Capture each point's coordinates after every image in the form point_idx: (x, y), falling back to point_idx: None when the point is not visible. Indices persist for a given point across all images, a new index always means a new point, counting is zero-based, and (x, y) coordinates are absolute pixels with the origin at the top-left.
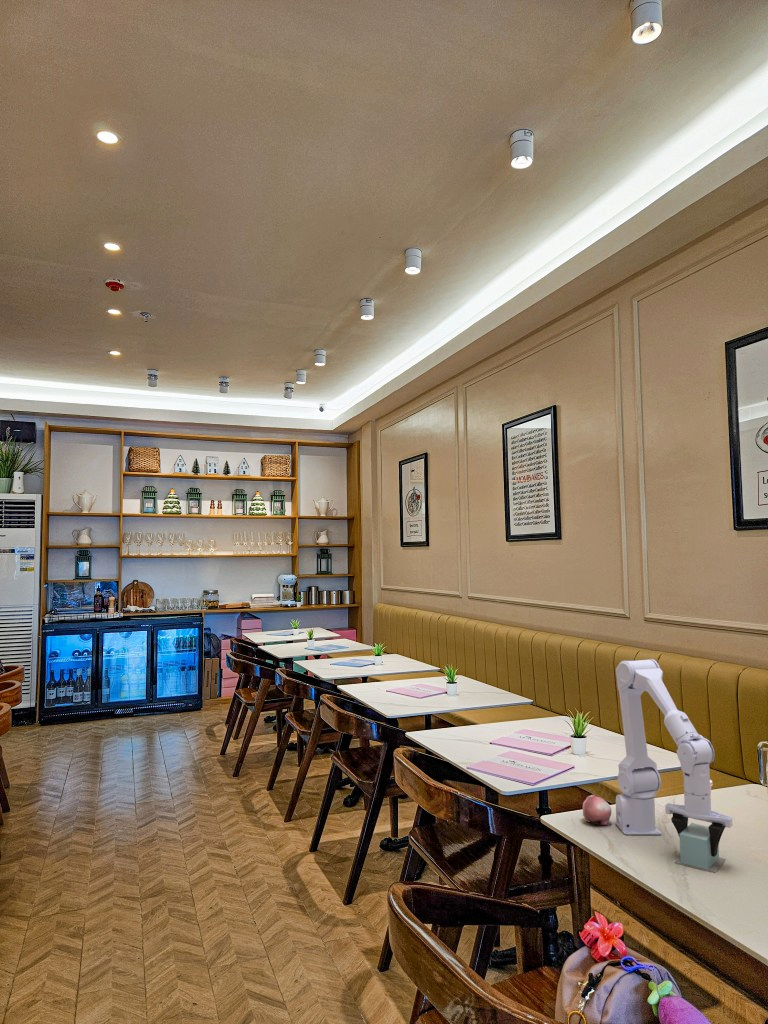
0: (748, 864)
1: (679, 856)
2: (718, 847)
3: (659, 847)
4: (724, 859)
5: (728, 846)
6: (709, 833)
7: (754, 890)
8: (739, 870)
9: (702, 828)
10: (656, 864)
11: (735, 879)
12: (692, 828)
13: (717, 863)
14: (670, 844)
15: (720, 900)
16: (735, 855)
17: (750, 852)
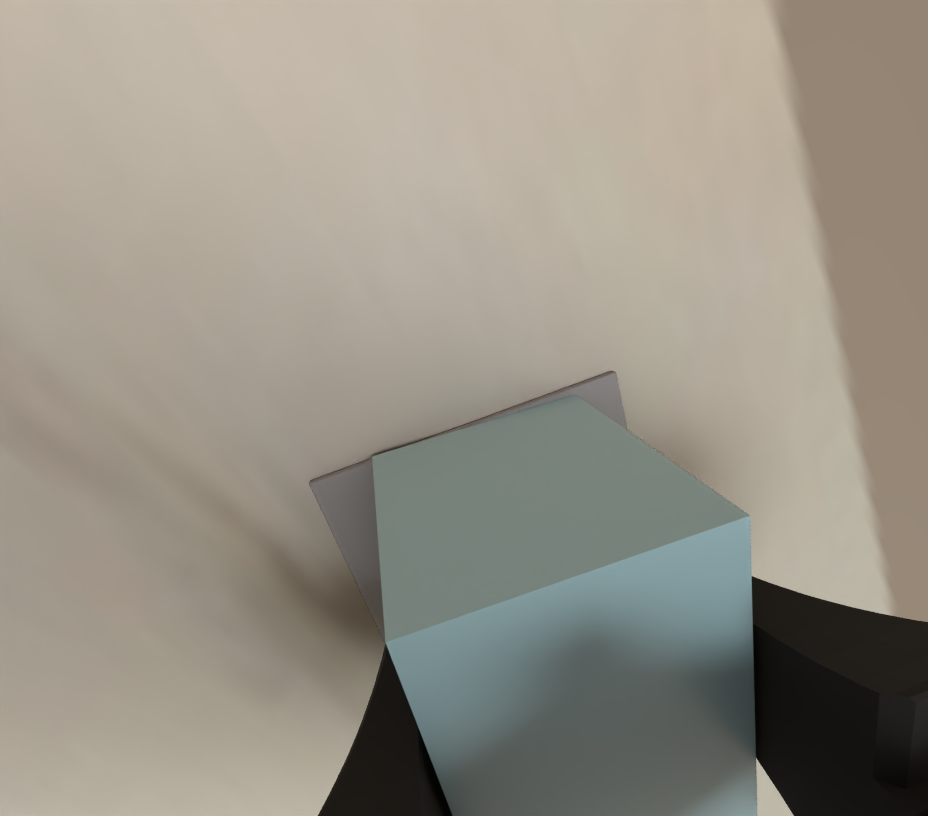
0: (758, 303)
1: (380, 625)
2: (616, 426)
3: (145, 609)
4: (619, 393)
5: (491, 24)
6: (724, 709)
7: (866, 601)
8: (744, 452)
9: (601, 669)
10: None
11: (764, 578)
12: (515, 767)
13: None
14: (137, 481)
15: (778, 791)
16: (630, 210)
17: (696, 4)
